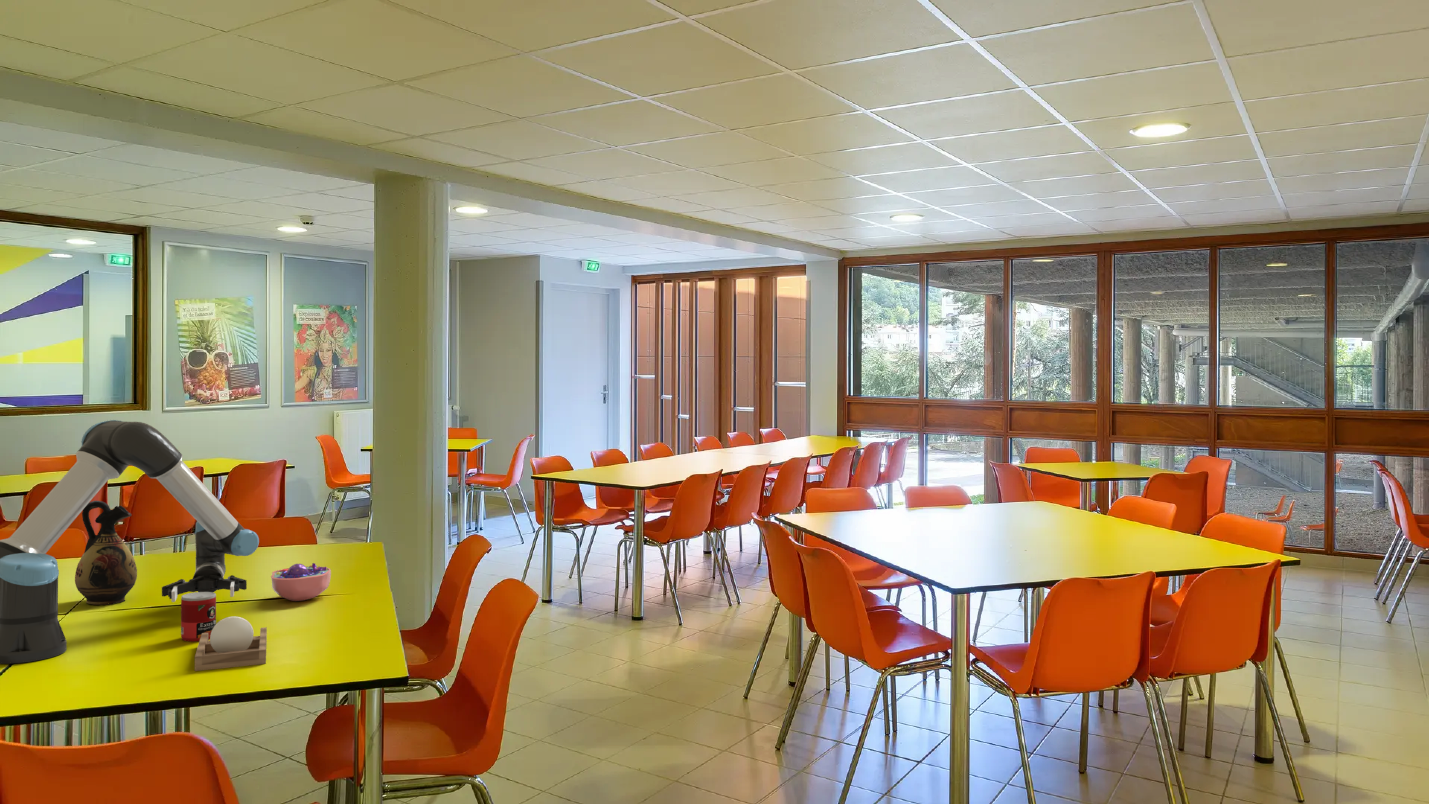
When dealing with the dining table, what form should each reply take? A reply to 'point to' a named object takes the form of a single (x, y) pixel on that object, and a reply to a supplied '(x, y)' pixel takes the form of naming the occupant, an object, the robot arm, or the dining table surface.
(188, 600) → the canned food
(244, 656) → the walnut tray
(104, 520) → the ceramic jug
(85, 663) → the dining table surface
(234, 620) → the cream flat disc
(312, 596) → the cell model
